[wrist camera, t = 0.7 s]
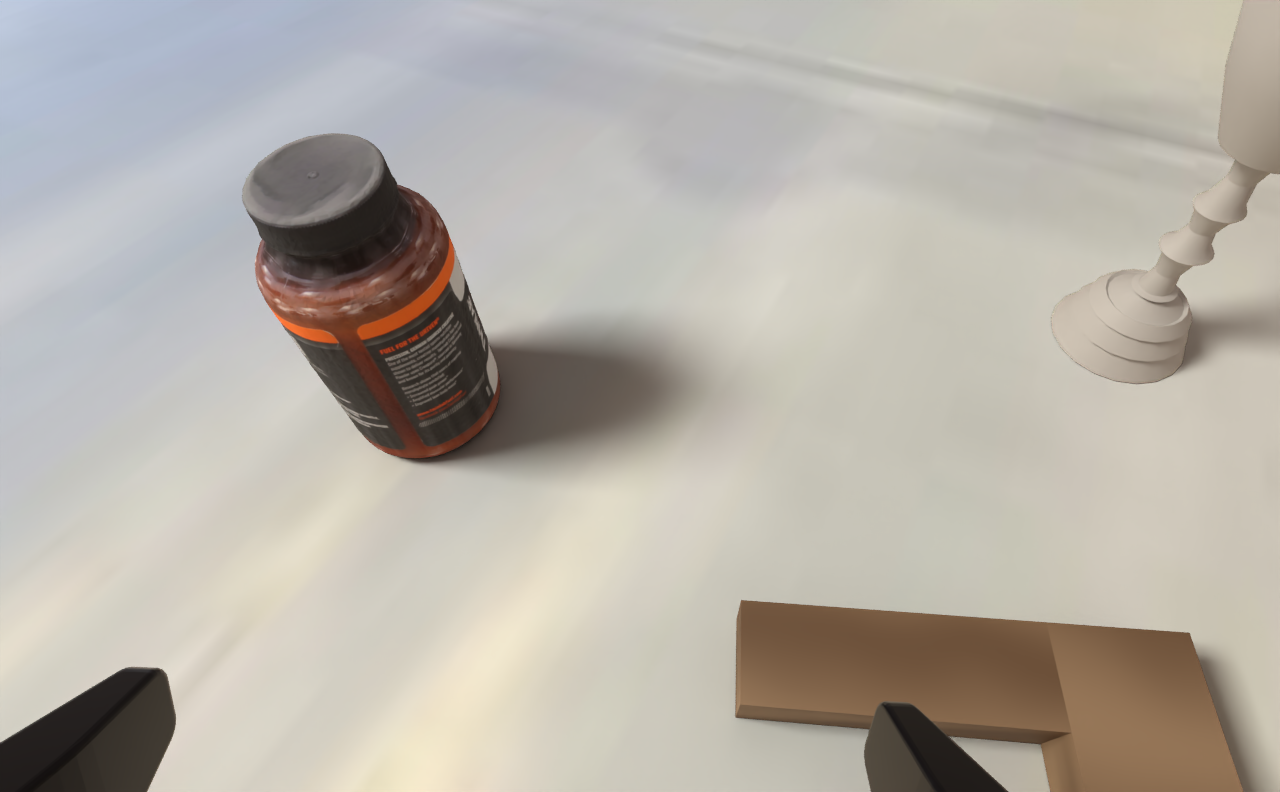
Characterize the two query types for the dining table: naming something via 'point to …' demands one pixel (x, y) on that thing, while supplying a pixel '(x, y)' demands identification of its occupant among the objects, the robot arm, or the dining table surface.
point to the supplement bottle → (372, 294)
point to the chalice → (1150, 300)
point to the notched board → (997, 688)
